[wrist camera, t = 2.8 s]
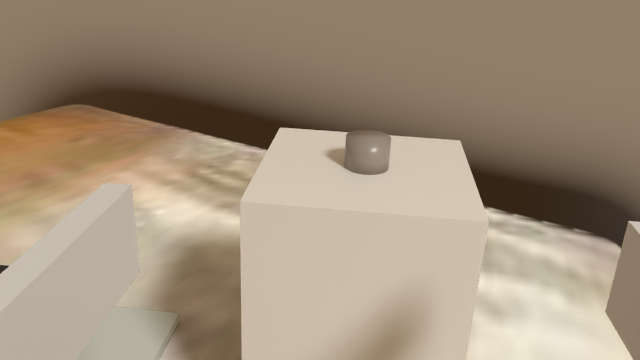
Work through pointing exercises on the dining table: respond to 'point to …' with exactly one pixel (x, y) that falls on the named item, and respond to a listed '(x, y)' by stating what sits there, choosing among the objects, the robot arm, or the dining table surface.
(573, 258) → the dining table surface
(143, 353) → the mat
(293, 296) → the cover
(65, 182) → the dining table surface
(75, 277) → the robot arm
